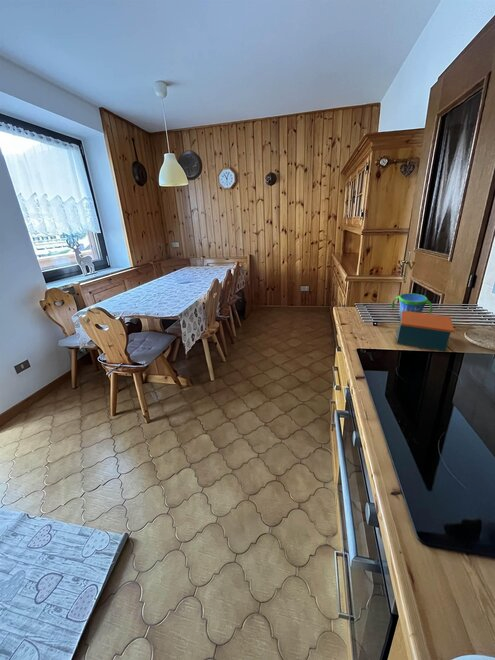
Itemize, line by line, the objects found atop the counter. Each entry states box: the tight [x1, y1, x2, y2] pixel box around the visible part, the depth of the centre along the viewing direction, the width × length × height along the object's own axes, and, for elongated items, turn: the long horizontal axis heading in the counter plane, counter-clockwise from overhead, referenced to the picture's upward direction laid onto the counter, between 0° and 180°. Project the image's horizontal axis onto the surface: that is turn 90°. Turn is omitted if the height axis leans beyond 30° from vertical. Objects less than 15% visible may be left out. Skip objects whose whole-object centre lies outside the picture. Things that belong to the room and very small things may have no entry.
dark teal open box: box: [396, 314, 452, 352], centre depth 107 cm, size 15×12×8 cm
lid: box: [400, 311, 455, 333], centre depth 105 cm, size 16×12×1 cm
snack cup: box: [391, 292, 433, 319], centre depth 123 cm, size 16×11×10 cm
